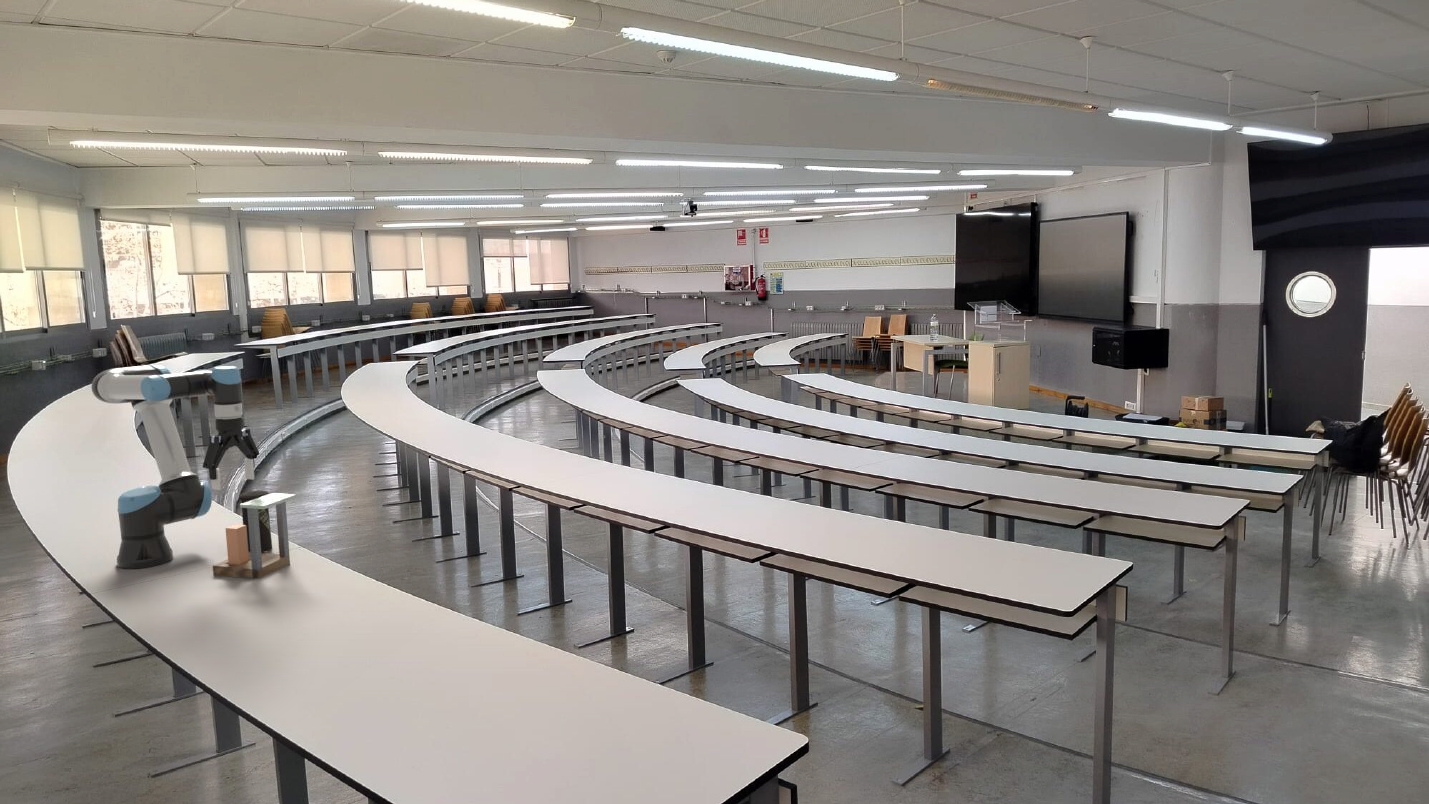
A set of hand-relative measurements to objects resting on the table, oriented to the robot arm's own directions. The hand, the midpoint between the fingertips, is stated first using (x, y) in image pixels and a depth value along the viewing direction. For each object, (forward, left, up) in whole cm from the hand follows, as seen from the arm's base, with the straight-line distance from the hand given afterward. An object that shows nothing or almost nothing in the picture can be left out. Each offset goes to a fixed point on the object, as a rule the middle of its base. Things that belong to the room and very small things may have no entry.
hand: (233, 484), depth 276 cm
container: (-6, +15, -27) cm, 31 cm away
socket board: (+6, -2, -27) cm, 27 cm away
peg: (+3, -4, -26) cm, 27 cm away
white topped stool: (+14, -2, -27) cm, 30 cm away
